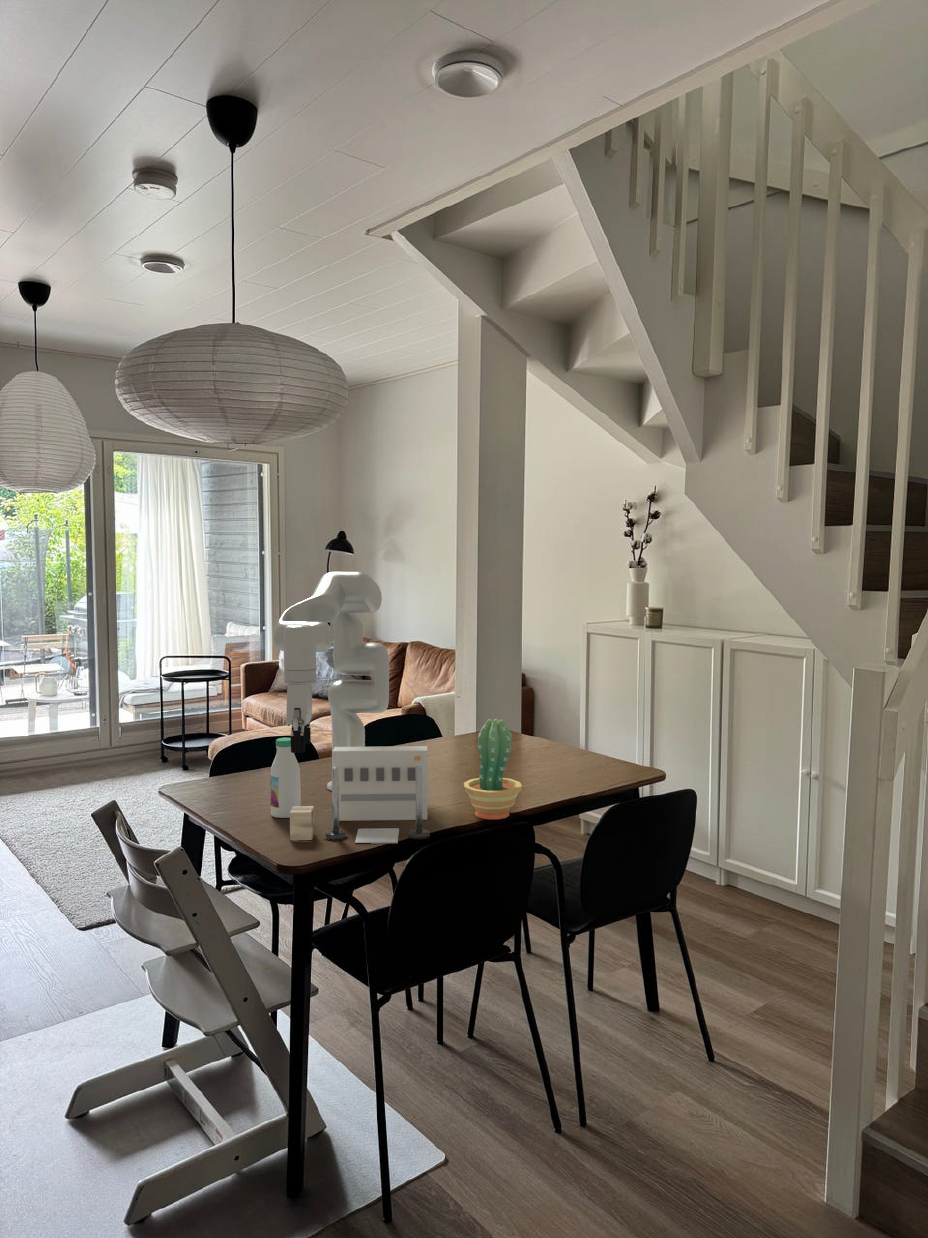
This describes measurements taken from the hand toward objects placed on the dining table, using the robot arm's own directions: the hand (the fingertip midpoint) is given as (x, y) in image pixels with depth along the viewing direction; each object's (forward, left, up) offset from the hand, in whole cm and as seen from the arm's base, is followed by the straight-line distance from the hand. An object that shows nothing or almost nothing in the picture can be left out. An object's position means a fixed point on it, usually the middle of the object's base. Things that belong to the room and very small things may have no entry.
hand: (300, 748), depth 205 cm
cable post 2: (0, +28, -22) cm, 35 cm away
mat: (0, +18, -22) cm, 28 cm away
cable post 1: (0, +8, -22) cm, 23 cm away
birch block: (0, 0, -22) cm, 22 cm away
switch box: (-16, +18, -22) cm, 32 cm away
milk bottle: (-19, -7, -22) cm, 30 cm away
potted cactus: (-17, +47, -22) cm, 55 cm away
